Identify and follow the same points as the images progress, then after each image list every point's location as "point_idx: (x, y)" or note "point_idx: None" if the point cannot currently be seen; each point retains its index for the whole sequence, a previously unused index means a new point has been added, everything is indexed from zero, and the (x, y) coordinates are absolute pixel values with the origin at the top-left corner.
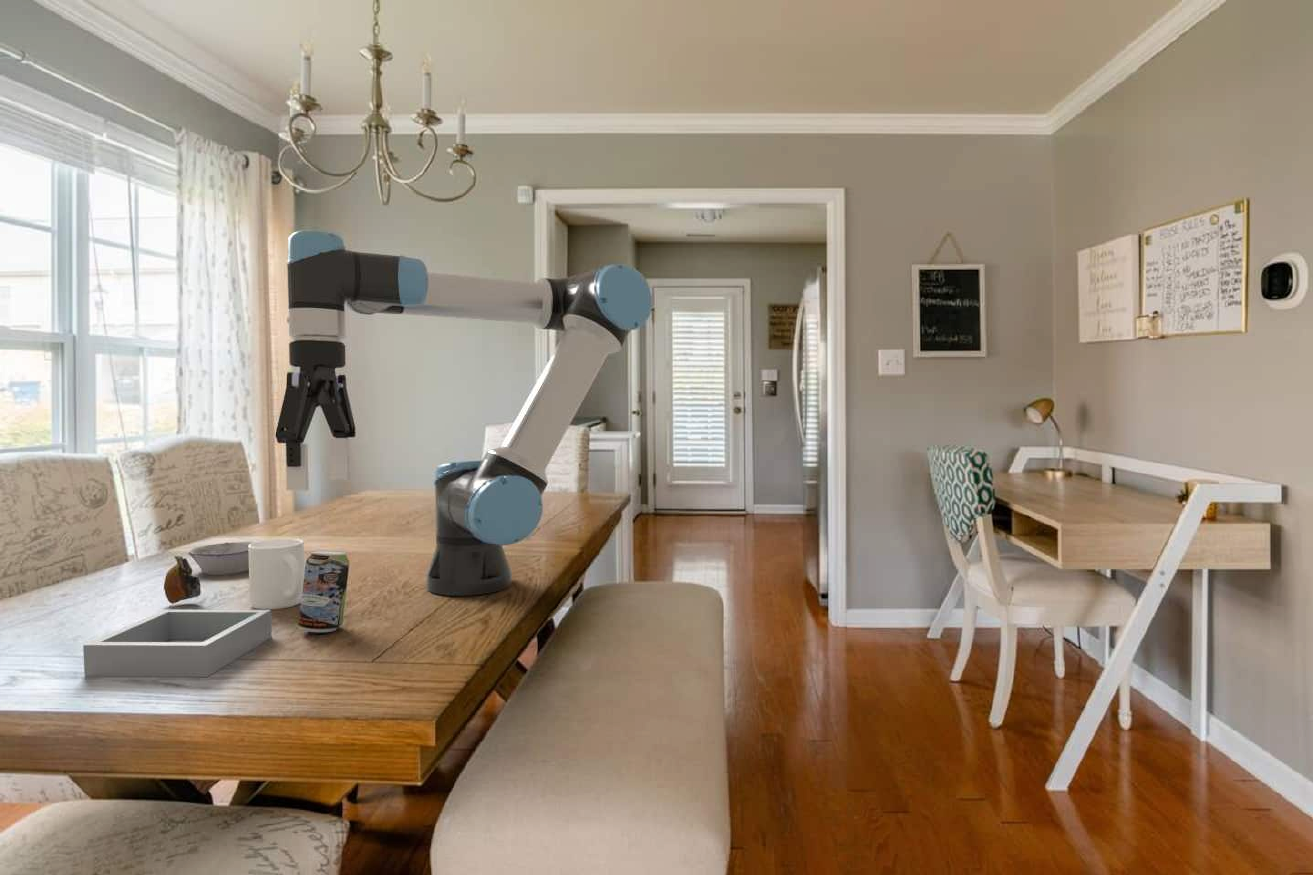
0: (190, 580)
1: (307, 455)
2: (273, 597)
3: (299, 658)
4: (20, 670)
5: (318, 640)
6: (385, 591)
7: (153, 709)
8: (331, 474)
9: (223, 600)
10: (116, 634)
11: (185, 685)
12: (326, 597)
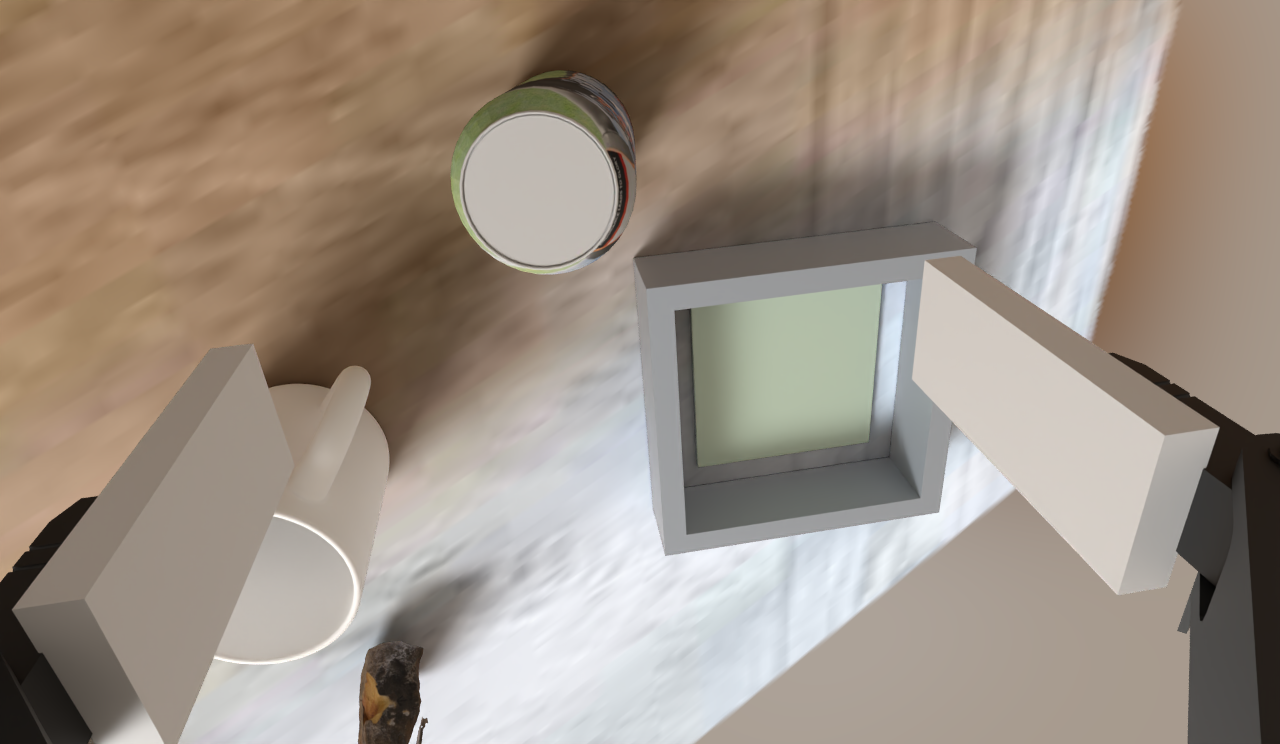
0: (397, 689)
1: (1085, 372)
2: (373, 438)
3: (811, 58)
4: (862, 596)
5: (650, 94)
6: (8, 166)
7: (1109, 203)
8: (280, 481)
9: None
10: (869, 507)
11: (981, 234)
12: (620, 113)
